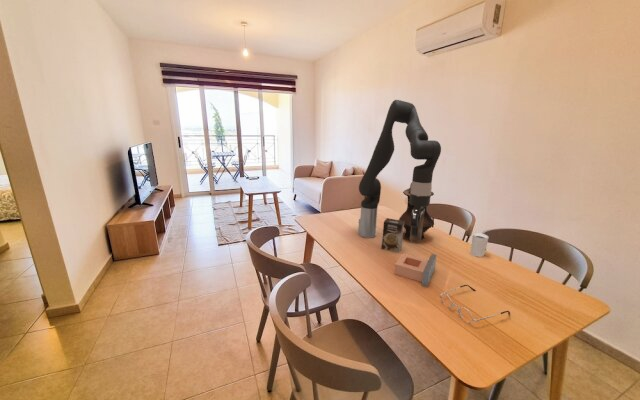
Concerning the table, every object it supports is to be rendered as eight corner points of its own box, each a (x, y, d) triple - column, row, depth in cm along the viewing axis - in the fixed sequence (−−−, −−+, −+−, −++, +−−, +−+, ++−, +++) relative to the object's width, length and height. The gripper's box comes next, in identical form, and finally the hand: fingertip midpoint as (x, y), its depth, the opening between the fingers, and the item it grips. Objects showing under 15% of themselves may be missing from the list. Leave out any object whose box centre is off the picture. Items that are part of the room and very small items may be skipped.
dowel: (408, 241, 107) (411, 213, 104) (411, 237, 110) (414, 210, 107) (419, 243, 105) (422, 215, 101) (421, 239, 108) (425, 212, 105)
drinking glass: (487, 258, 126) (491, 239, 123) (472, 256, 127) (475, 237, 125) (481, 251, 132) (485, 233, 130) (467, 250, 134) (470, 232, 131)
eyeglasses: (435, 300, 96) (436, 288, 95) (472, 289, 102) (474, 278, 101) (473, 331, 82) (476, 317, 80) (513, 316, 88) (517, 303, 87)
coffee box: (380, 251, 132) (383, 221, 128) (384, 246, 138) (386, 217, 133) (399, 255, 128) (402, 224, 124) (401, 250, 134) (404, 220, 129)
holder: (393, 273, 110) (394, 264, 109) (401, 262, 119) (402, 253, 118) (422, 282, 104) (423, 272, 103) (428, 269, 113) (429, 260, 112)
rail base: (373, 273, 113) (374, 256, 110) (385, 257, 126) (386, 242, 123) (432, 291, 100) (434, 273, 98) (439, 272, 113) (441, 256, 111)
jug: (437, 244, 140) (445, 190, 132) (402, 243, 141) (408, 189, 132) (423, 229, 161) (429, 181, 152) (393, 229, 161) (397, 181, 153)
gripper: (415, 188, 110) (410, 226, 114) (405, 195, 98) (401, 237, 103) (434, 190, 106) (429, 229, 111) (426, 198, 94) (421, 241, 99)
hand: (415, 233), depth 107 cm, fingers closed on dowel, 4 cm apart
